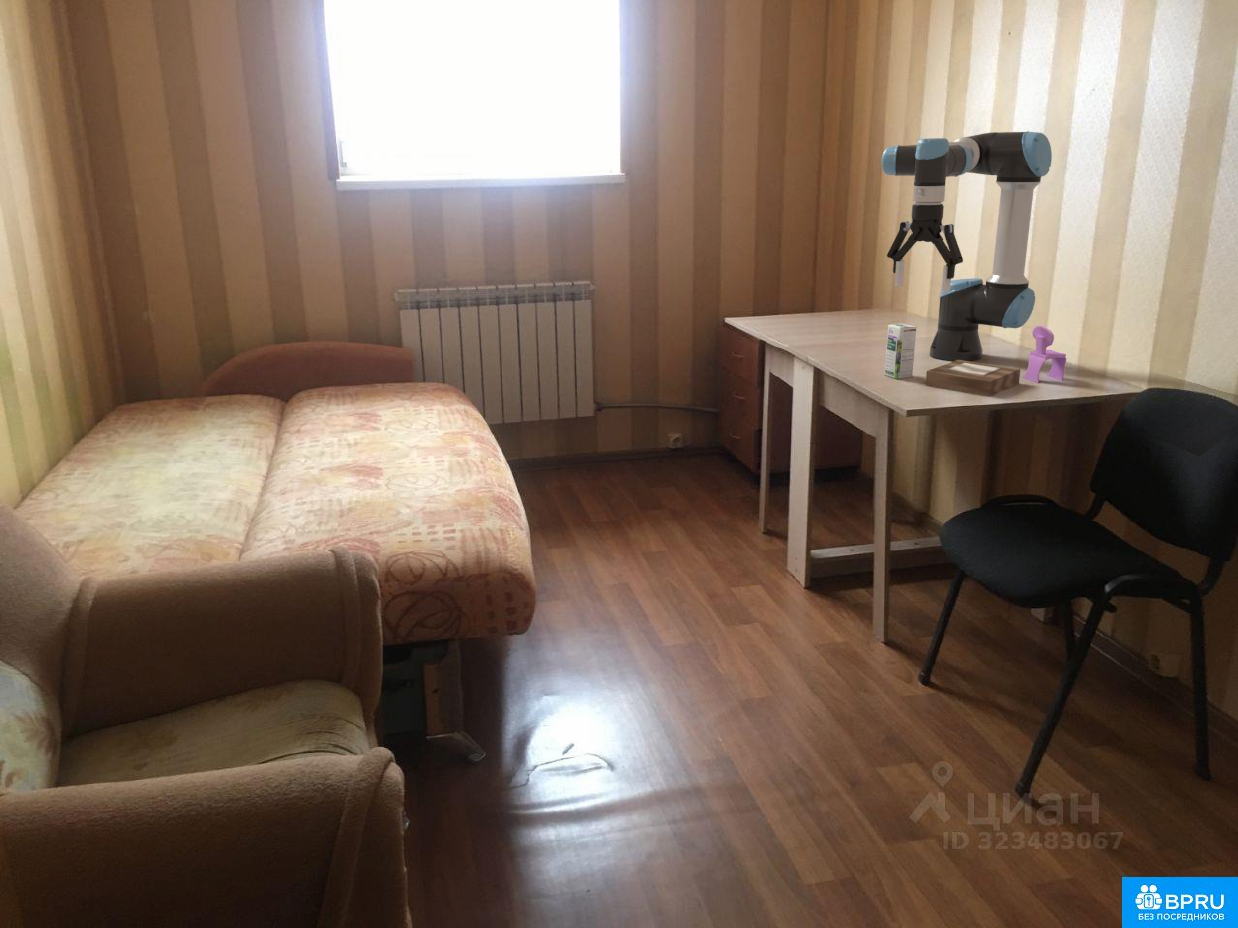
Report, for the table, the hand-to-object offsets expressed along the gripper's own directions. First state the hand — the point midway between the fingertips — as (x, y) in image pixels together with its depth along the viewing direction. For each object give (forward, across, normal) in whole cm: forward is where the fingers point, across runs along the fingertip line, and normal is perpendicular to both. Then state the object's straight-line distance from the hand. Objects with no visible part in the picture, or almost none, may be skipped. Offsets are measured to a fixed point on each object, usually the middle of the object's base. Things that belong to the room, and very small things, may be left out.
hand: (921, 289), depth 259 cm
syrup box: (+28, -14, +14) cm, 34 cm away
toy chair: (+28, +17, +38) cm, 50 cm away
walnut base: (+28, +6, +19) cm, 34 cm away
